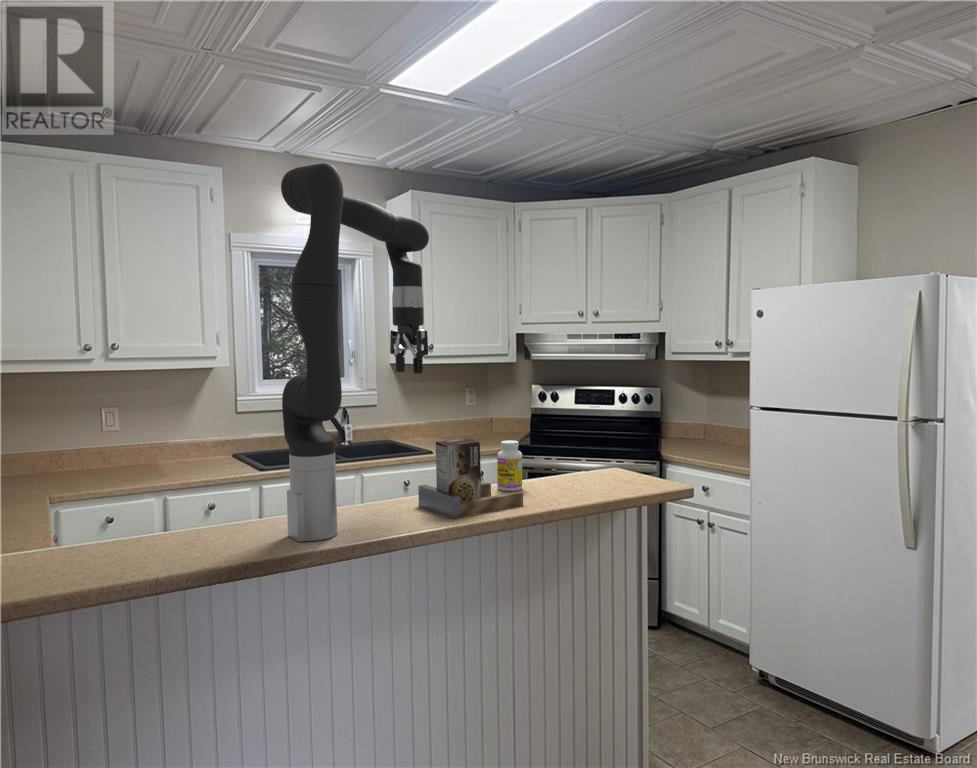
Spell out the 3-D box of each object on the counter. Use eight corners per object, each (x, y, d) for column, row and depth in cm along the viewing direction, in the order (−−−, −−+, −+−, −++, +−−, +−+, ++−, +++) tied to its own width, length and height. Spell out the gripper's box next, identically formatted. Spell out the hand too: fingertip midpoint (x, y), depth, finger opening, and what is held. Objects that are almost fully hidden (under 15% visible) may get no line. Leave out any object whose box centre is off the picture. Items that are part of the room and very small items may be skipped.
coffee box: (468, 502, 169) (467, 437, 168) (482, 508, 163) (481, 441, 162) (435, 507, 164) (434, 441, 163) (448, 513, 159) (447, 444, 157)
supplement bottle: (493, 490, 182) (492, 442, 181) (504, 485, 188) (503, 439, 187) (515, 493, 179) (515, 444, 178) (526, 488, 184) (526, 440, 183)
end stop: (453, 519, 154) (452, 497, 153) (418, 506, 166) (418, 485, 165) (460, 517, 155) (460, 495, 154) (425, 504, 167) (425, 484, 166)
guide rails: (460, 517, 155) (459, 504, 155) (426, 504, 167) (426, 492, 166) (523, 504, 166) (523, 492, 166) (487, 493, 178) (487, 482, 177)
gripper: (380, 306, 170) (381, 372, 171) (409, 304, 158) (410, 374, 159) (406, 307, 174) (407, 371, 175) (436, 305, 163) (437, 373, 164)
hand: (409, 372), depth 167 cm, fingers open, 8 cm apart
